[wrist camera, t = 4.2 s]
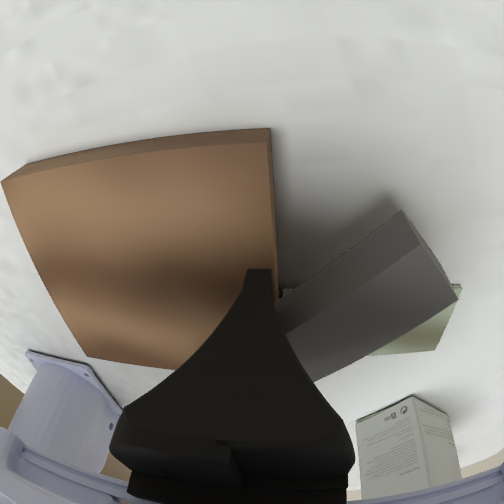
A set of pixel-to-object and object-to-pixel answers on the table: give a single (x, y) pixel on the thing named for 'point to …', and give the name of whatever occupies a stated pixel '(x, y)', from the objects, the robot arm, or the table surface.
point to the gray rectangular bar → (364, 299)
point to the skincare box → (405, 450)
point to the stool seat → (158, 241)
